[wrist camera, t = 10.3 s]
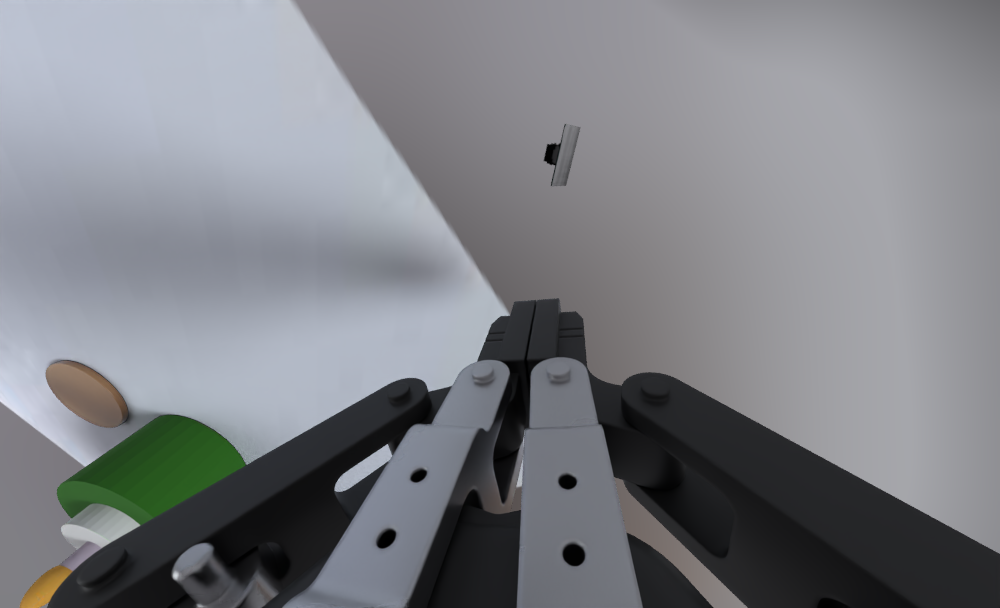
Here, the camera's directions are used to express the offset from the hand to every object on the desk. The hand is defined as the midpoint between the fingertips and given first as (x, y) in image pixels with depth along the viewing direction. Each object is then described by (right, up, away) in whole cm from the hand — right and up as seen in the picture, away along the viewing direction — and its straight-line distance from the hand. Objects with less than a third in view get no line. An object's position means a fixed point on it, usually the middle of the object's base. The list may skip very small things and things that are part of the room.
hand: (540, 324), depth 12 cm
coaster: (-32, -6, +14) cm, 36 cm away
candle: (-25, -11, +15) cm, 31 cm away
